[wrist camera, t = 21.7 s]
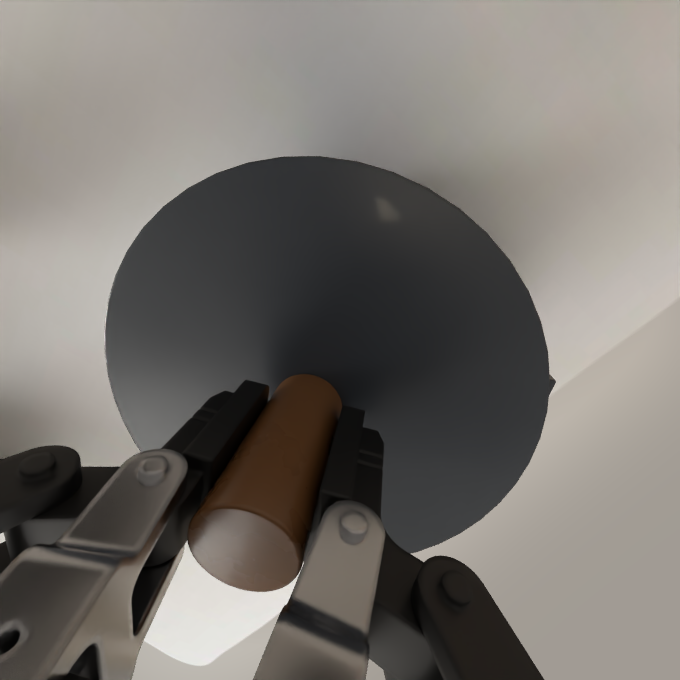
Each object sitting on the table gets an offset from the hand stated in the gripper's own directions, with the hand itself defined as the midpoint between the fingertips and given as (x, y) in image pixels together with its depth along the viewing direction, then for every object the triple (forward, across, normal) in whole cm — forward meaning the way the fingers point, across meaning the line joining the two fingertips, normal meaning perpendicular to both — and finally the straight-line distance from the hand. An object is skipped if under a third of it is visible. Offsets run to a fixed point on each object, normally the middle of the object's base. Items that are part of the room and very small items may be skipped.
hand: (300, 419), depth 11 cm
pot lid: (+1, 0, 0) cm, 1 cm away
